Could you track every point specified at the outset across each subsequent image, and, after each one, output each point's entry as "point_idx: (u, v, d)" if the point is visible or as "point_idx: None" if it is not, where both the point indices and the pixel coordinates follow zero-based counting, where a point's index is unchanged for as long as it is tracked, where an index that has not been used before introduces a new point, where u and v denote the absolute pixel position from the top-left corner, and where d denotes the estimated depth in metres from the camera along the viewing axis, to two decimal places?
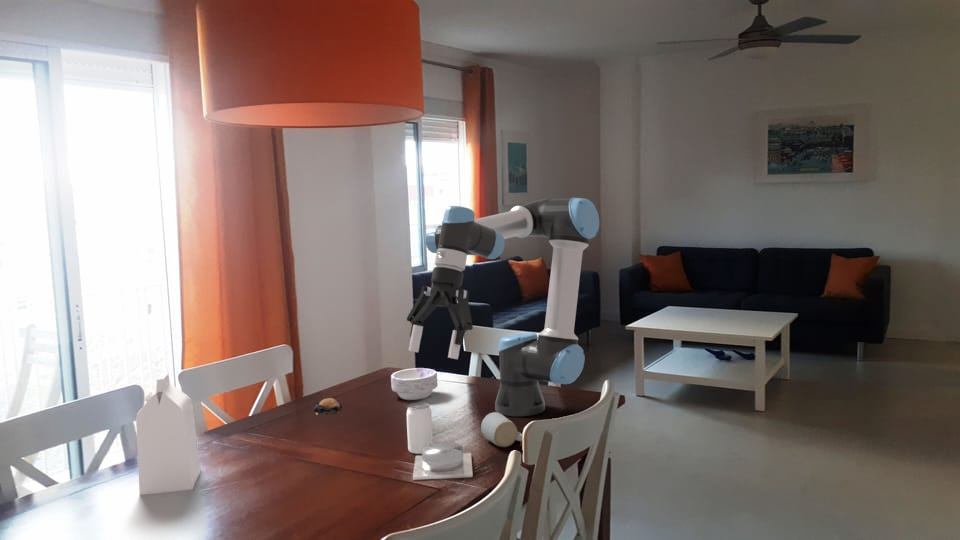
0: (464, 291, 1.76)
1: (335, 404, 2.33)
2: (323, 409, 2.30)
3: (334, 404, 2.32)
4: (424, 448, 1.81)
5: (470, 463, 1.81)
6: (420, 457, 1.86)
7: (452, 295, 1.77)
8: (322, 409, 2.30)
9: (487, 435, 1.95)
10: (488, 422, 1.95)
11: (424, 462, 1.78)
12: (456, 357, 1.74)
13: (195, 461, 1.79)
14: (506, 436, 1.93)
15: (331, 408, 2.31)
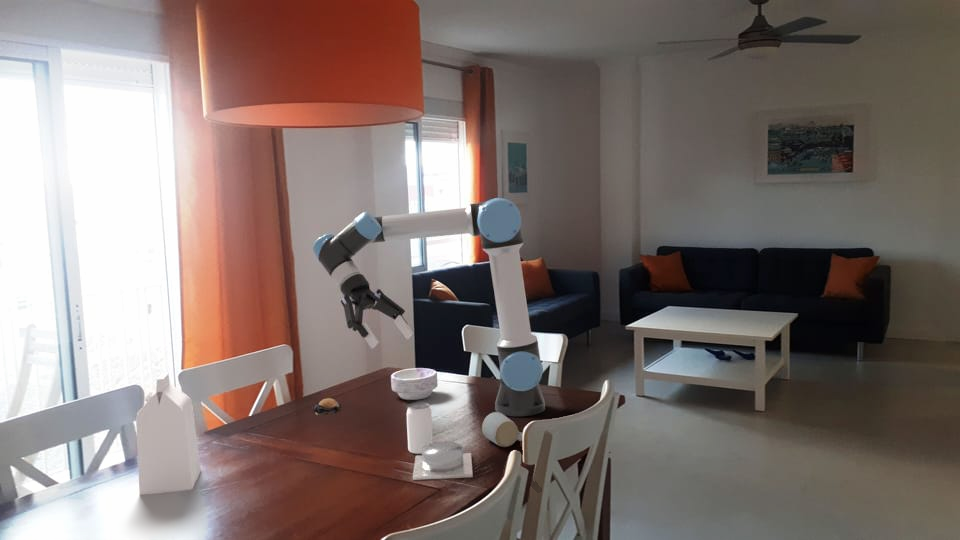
0: (342, 299, 1.98)
1: (335, 404, 2.33)
2: (323, 409, 2.30)
3: (334, 404, 2.32)
4: (424, 448, 1.81)
5: (470, 463, 1.81)
6: (420, 457, 1.86)
7: (352, 303, 2.00)
8: (322, 409, 2.30)
9: (488, 435, 1.95)
10: (489, 422, 1.95)
11: (424, 462, 1.78)
12: (374, 342, 1.92)
13: (195, 461, 1.79)
14: (507, 436, 1.93)
15: (331, 408, 2.31)
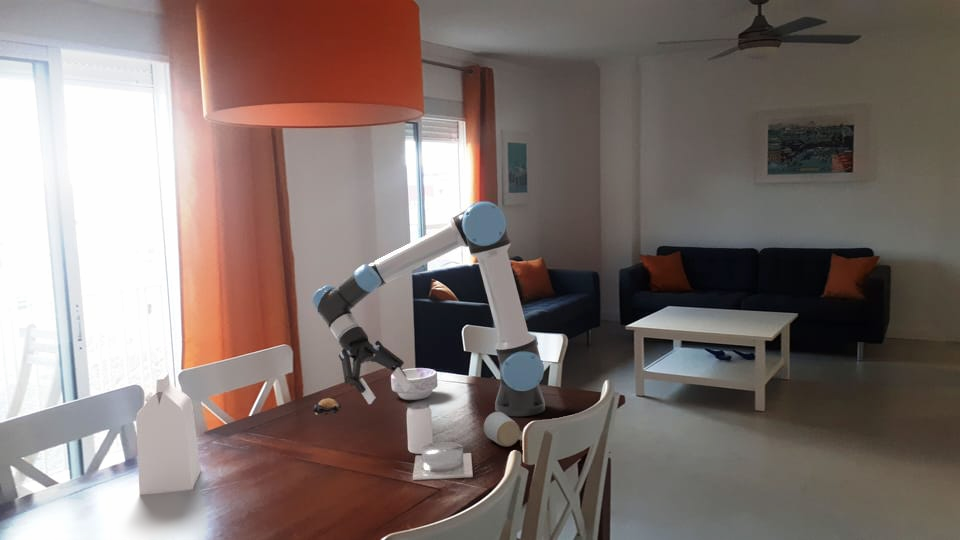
0: (340, 354, 1.98)
1: (334, 404, 2.33)
2: (322, 409, 2.30)
3: (333, 404, 2.32)
4: (424, 448, 1.81)
5: (470, 463, 1.81)
6: (420, 457, 1.86)
7: (350, 356, 2.01)
8: (321, 409, 2.30)
9: (490, 434, 1.95)
10: (491, 421, 1.96)
11: (424, 462, 1.78)
12: (371, 398, 1.92)
13: (195, 461, 1.79)
14: (508, 436, 1.93)
15: (331, 408, 2.31)
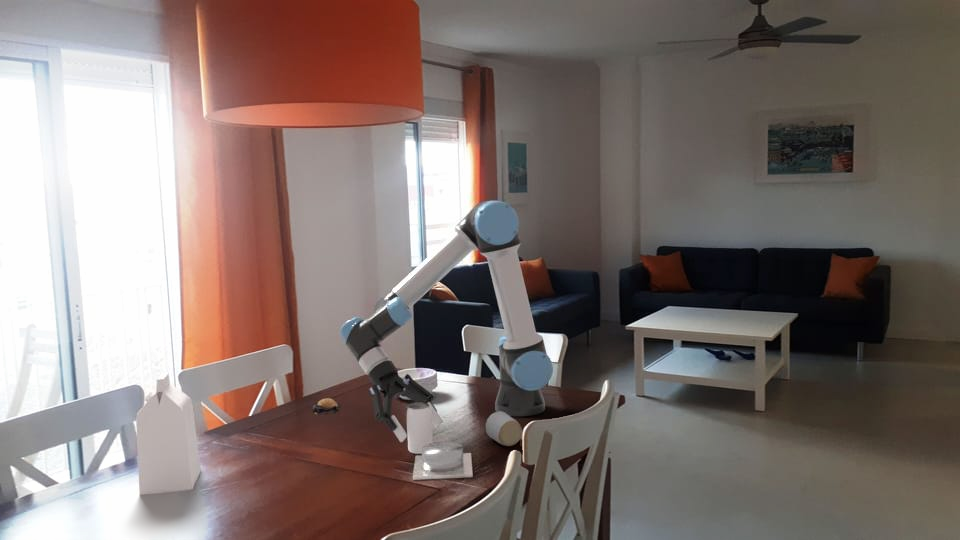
0: (370, 389, 1.93)
1: (334, 404, 2.33)
2: (322, 409, 2.30)
3: (333, 404, 2.32)
4: (424, 448, 1.81)
5: (470, 463, 1.81)
6: (420, 457, 1.86)
7: None
8: (321, 409, 2.30)
9: (492, 434, 1.95)
10: (493, 421, 1.96)
11: (424, 462, 1.78)
12: (403, 436, 1.86)
13: (195, 461, 1.79)
14: (510, 435, 1.93)
15: (330, 408, 2.31)
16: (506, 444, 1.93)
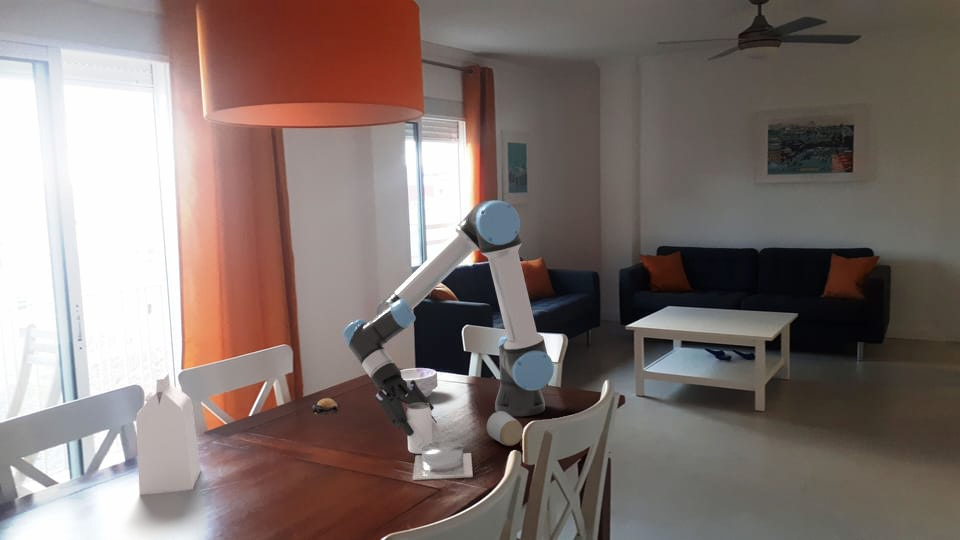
0: (377, 396, 1.92)
1: (333, 404, 2.33)
2: (322, 409, 2.30)
3: (333, 404, 2.32)
4: (424, 448, 1.81)
5: (470, 463, 1.81)
6: (420, 457, 1.86)
7: None
8: (321, 409, 2.30)
9: (493, 434, 1.96)
10: (494, 421, 1.96)
11: (424, 462, 1.78)
12: (420, 441, 1.88)
13: (195, 461, 1.79)
14: (511, 435, 1.93)
15: (330, 407, 2.31)
16: (507, 444, 1.93)
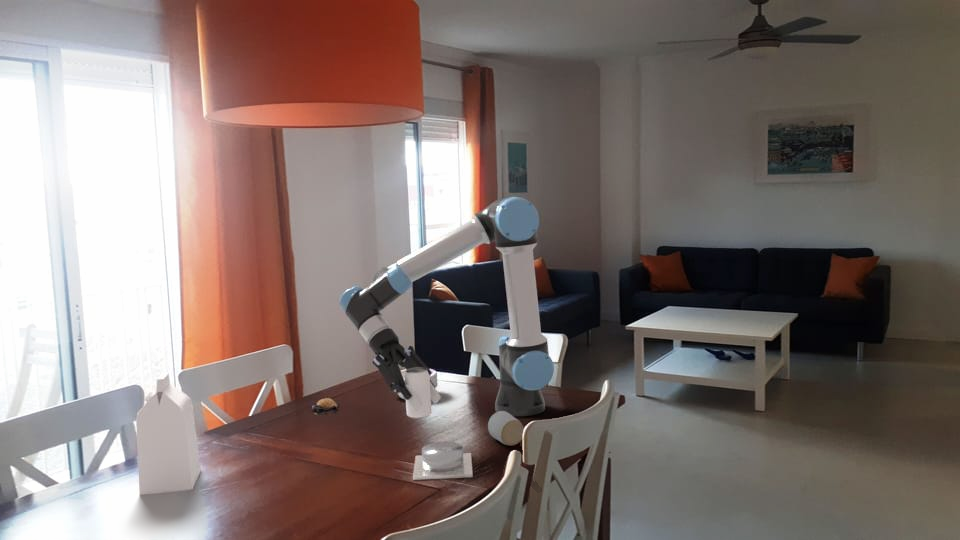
0: (374, 361, 1.91)
1: (333, 404, 2.33)
2: (322, 409, 2.30)
3: (332, 404, 2.33)
4: (424, 448, 1.81)
5: (470, 463, 1.81)
6: (420, 457, 1.86)
7: None
8: (321, 409, 2.30)
9: (494, 434, 1.96)
10: (495, 421, 1.96)
11: (424, 462, 1.78)
12: (419, 405, 1.87)
13: (195, 461, 1.79)
14: (512, 435, 1.93)
15: (330, 407, 2.31)
16: (508, 444, 1.93)
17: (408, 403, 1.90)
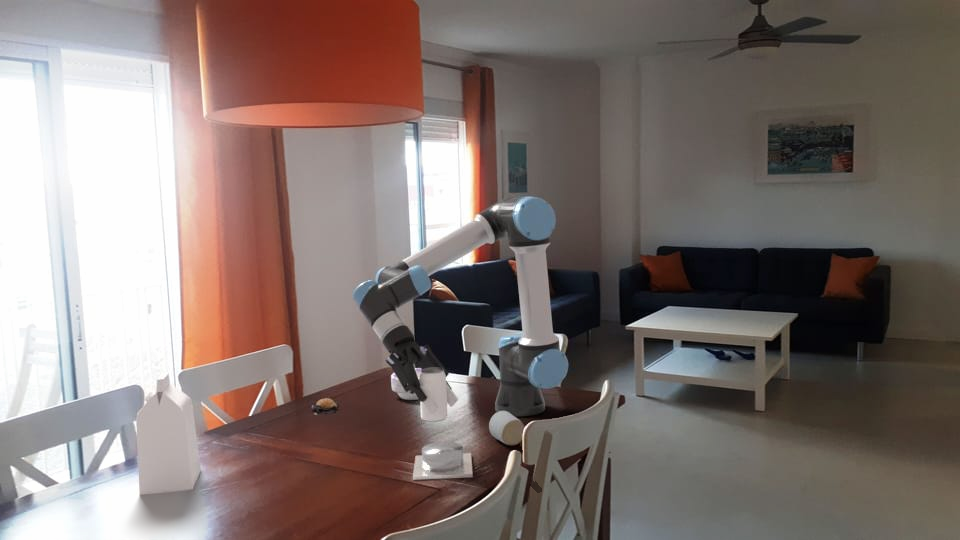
0: (388, 359, 1.80)
1: (333, 404, 2.33)
2: (321, 409, 2.30)
3: (332, 404, 2.33)
4: (424, 448, 1.81)
5: (470, 463, 1.81)
6: (420, 457, 1.86)
7: None
8: (320, 409, 2.30)
9: (495, 433, 1.96)
10: (496, 420, 1.96)
11: (424, 462, 1.78)
12: (434, 407, 1.75)
13: (195, 461, 1.79)
14: (513, 434, 1.94)
15: (329, 407, 2.31)
16: (509, 443, 1.93)
17: (423, 405, 1.79)
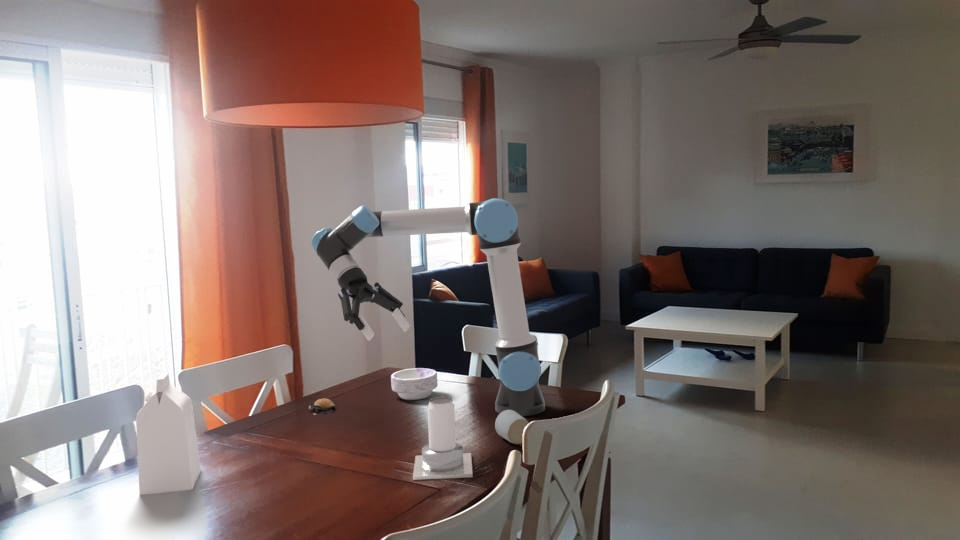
0: (339, 292, 1.99)
1: (331, 404, 2.33)
2: (320, 409, 2.30)
3: (330, 404, 2.33)
4: (424, 448, 1.81)
5: (470, 463, 1.81)
6: (420, 457, 1.86)
7: (349, 296, 2.01)
8: (319, 409, 2.30)
9: (501, 432, 1.97)
10: (502, 419, 1.97)
11: (424, 462, 1.78)
12: (371, 334, 1.93)
13: (195, 461, 1.79)
14: (519, 433, 1.94)
15: (328, 407, 2.32)
16: (515, 442, 1.94)
17: (431, 436, 1.78)
